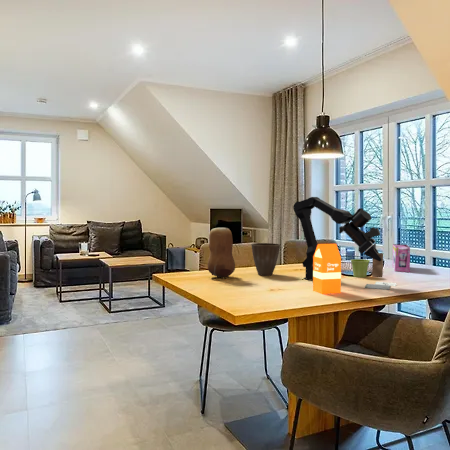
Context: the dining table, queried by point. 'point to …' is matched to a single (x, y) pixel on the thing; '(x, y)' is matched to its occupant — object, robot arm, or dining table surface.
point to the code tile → (385, 283)
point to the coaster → (377, 286)
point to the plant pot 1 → (265, 257)
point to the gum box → (401, 257)
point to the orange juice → (327, 269)
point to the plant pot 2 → (360, 267)
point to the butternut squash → (221, 253)
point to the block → (377, 267)
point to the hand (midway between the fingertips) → (381, 259)
